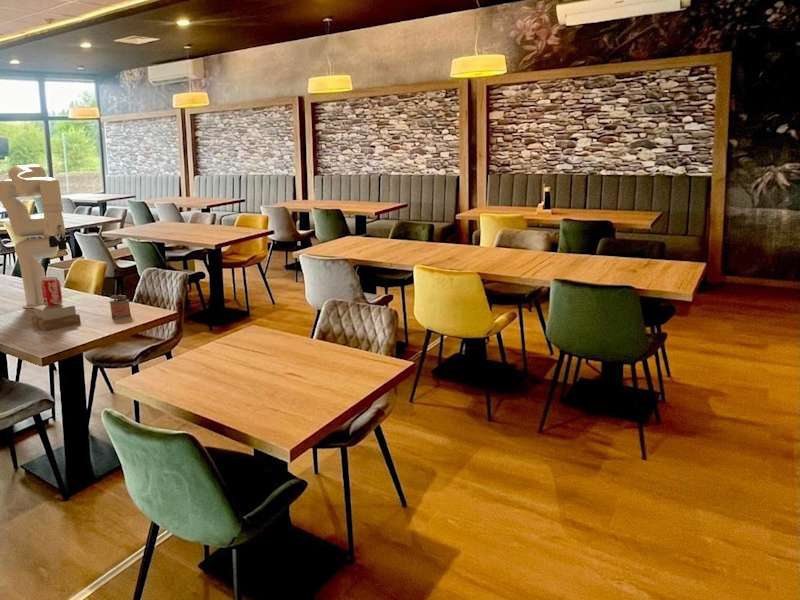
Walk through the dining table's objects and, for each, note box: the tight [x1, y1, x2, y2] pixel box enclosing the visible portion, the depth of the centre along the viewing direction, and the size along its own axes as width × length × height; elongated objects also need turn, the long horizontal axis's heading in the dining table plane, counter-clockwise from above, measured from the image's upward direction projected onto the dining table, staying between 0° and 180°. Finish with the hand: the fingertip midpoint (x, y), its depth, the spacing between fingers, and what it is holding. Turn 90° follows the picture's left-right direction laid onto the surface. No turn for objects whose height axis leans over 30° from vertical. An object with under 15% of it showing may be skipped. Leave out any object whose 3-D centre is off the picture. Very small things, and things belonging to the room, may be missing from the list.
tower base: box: [31, 313, 81, 332], centre depth 271 cm, size 14×14×4 cm
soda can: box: [41, 276, 63, 308], centre depth 268 cm, size 7×7×12 cm
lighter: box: [109, 294, 132, 319], centre depth 280 cm, size 8×3×10 cm, turn 104°
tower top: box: [32, 300, 76, 321], centre depth 270 cm, size 12×12×4 cm
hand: (58, 248), depth 273 cm, fingers open, 9 cm apart
